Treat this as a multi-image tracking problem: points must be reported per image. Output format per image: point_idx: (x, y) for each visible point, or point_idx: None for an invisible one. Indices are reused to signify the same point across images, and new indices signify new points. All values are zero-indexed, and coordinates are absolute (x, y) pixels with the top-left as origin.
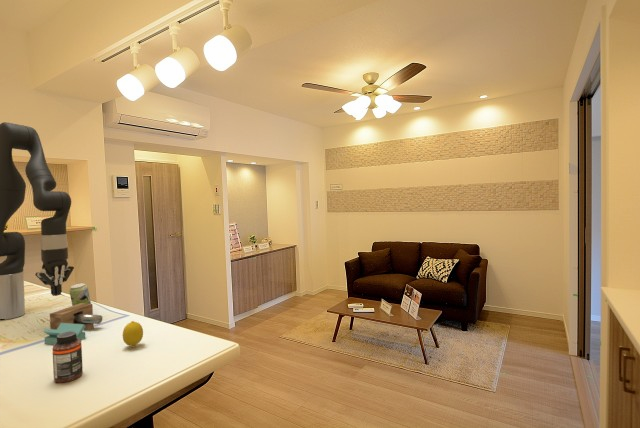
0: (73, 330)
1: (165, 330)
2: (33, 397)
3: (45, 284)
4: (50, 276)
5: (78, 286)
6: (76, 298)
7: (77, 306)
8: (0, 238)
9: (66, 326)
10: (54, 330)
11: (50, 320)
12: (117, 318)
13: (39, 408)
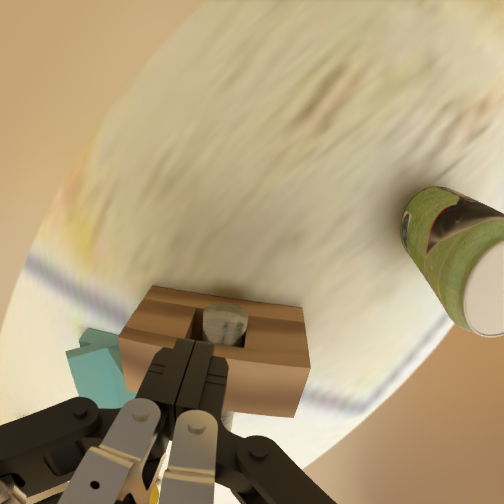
0: (122, 405)
1: (232, 495)
2: (5, 411)
3: (74, 405)
4: (105, 484)
5: (486, 309)
6: (427, 268)
7: (244, 388)
8: None
9: (122, 389)
10: (76, 385)
11: (131, 318)
12: (331, 401)
13: (4, 423)
